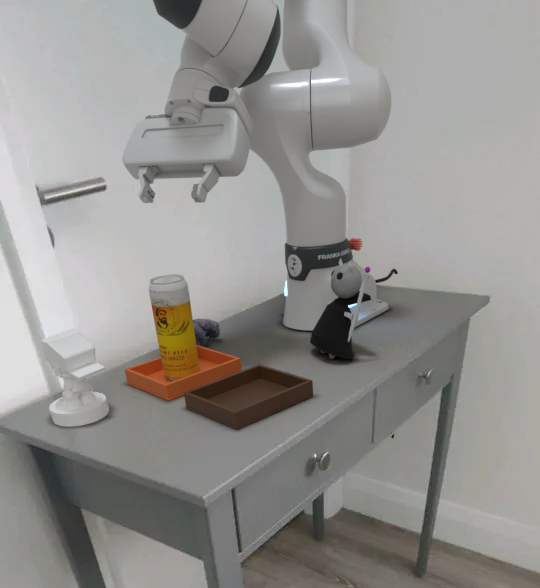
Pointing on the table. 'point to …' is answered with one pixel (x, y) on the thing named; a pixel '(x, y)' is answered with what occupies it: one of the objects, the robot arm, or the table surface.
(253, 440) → the table surface
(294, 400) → the walnut tray
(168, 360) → the beer can
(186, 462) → the table surface
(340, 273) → the toy
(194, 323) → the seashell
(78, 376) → the character figurine
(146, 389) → the can tray
